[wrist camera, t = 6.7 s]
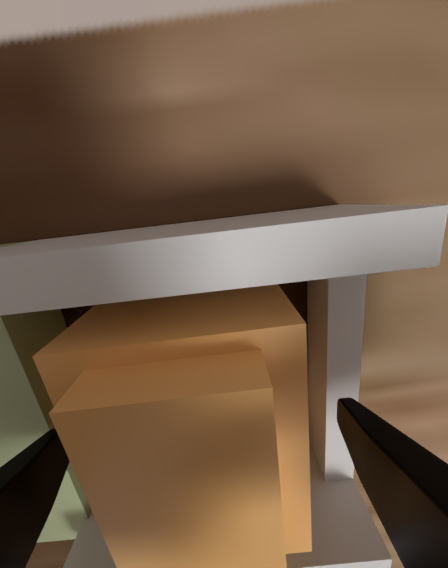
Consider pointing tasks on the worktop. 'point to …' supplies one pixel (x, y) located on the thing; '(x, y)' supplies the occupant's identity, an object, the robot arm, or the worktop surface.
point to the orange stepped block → (188, 426)
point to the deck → (207, 278)
